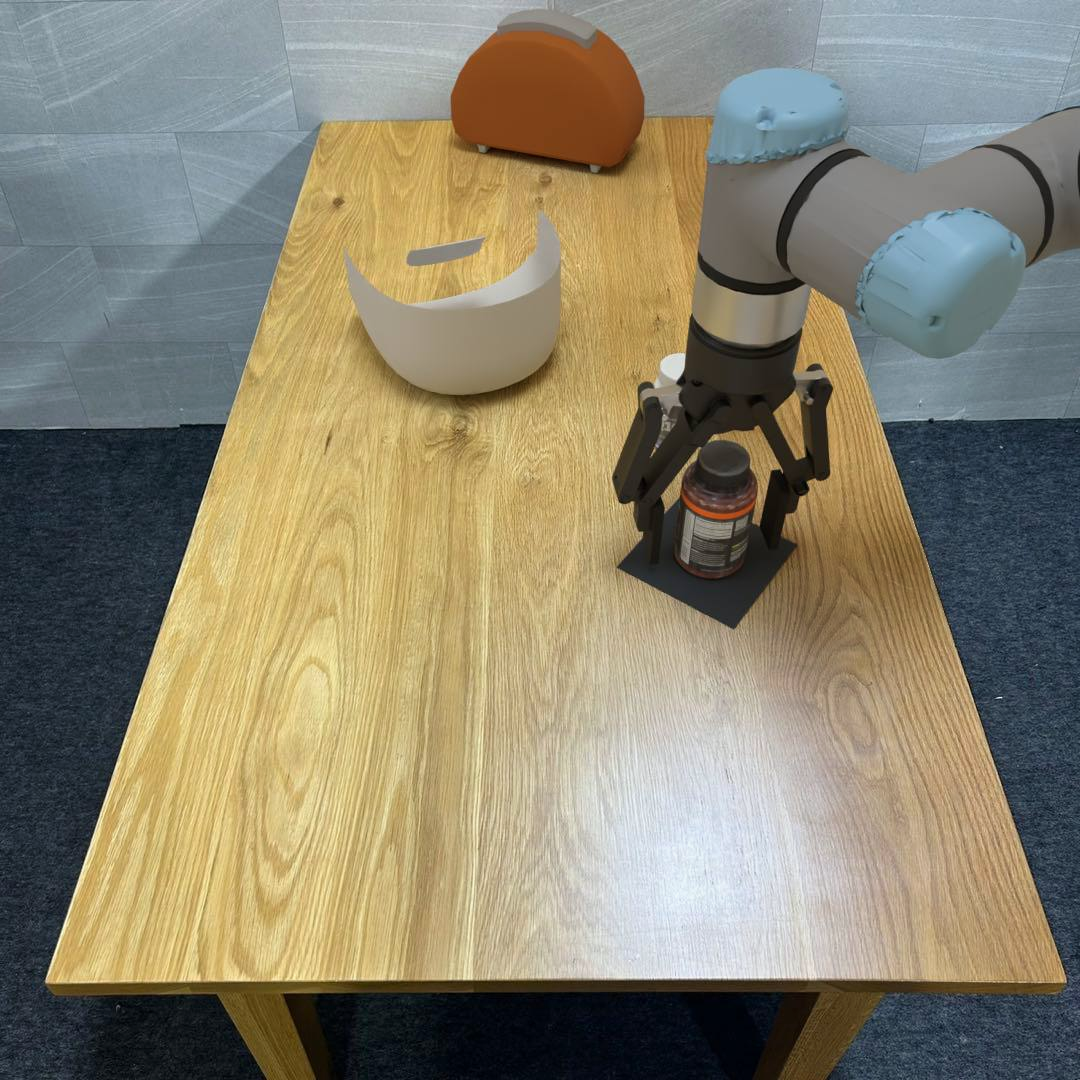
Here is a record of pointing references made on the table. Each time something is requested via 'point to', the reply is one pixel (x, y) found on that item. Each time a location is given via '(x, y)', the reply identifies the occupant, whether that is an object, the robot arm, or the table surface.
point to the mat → (707, 595)
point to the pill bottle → (668, 376)
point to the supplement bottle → (715, 510)
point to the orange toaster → (549, 91)
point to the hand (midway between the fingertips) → (709, 544)
